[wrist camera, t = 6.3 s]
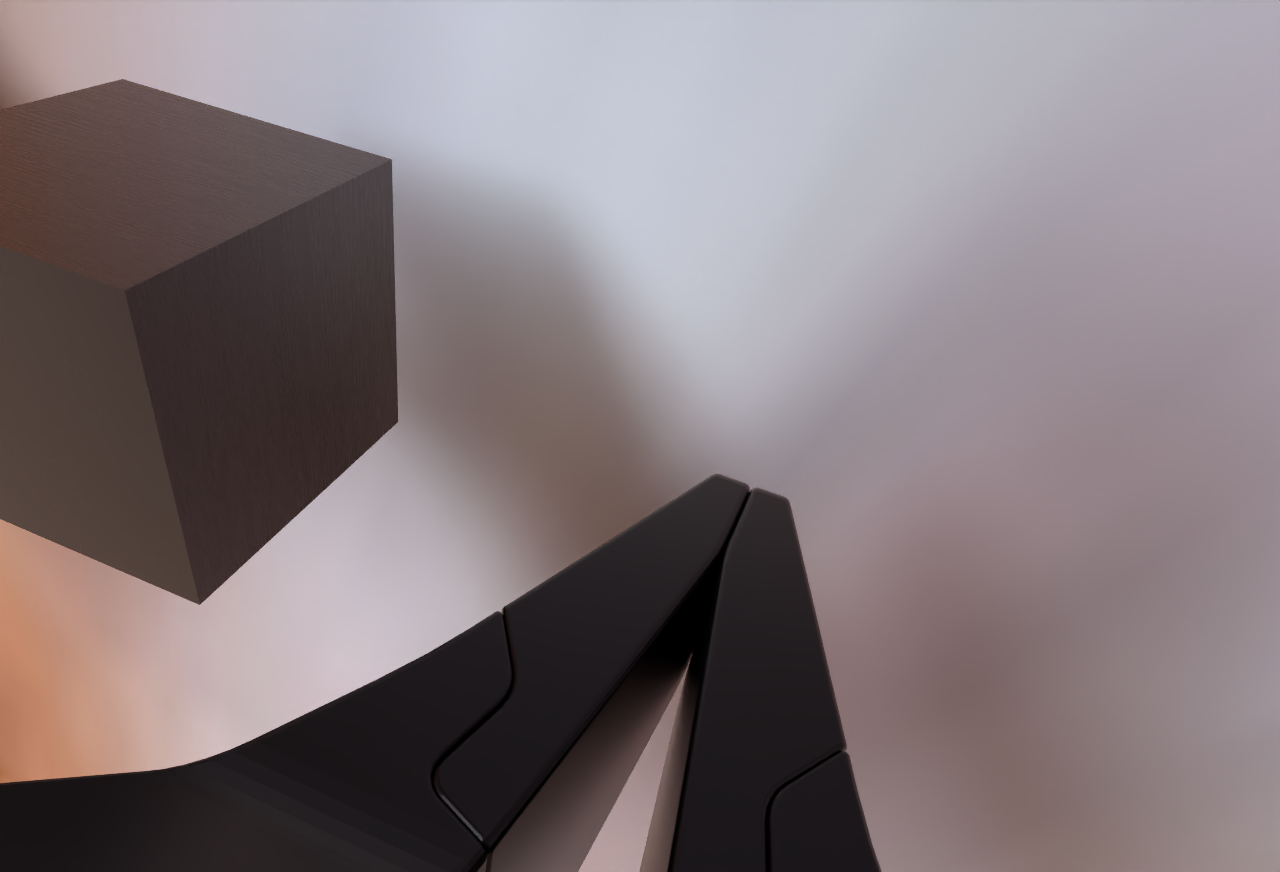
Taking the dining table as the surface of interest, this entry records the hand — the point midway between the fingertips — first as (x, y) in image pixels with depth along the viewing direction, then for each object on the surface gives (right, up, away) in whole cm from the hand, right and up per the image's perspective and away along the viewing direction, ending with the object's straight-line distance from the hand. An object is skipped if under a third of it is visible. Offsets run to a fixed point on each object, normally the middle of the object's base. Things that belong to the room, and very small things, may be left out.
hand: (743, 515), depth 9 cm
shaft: (-15, +6, +4) cm, 17 cm away
